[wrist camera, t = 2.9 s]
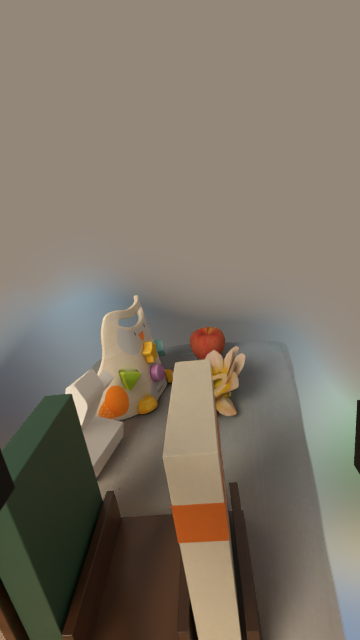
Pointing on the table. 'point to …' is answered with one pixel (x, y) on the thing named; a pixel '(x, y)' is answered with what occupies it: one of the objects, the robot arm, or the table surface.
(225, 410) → the decorative flower
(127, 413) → the shape sorter
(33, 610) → the green book
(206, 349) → the apple
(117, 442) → the white angular piece
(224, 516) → the book
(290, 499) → the table surface
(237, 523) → the book rack
